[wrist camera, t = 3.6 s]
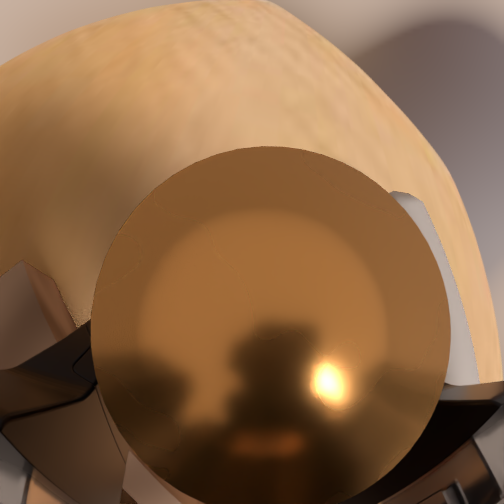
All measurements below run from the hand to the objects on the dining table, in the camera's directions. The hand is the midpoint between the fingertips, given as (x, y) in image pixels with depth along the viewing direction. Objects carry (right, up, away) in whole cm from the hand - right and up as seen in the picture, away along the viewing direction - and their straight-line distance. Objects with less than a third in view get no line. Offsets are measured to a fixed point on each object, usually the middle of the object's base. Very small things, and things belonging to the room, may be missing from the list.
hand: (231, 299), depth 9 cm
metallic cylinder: (-2, -3, +6) cm, 7 cm away
